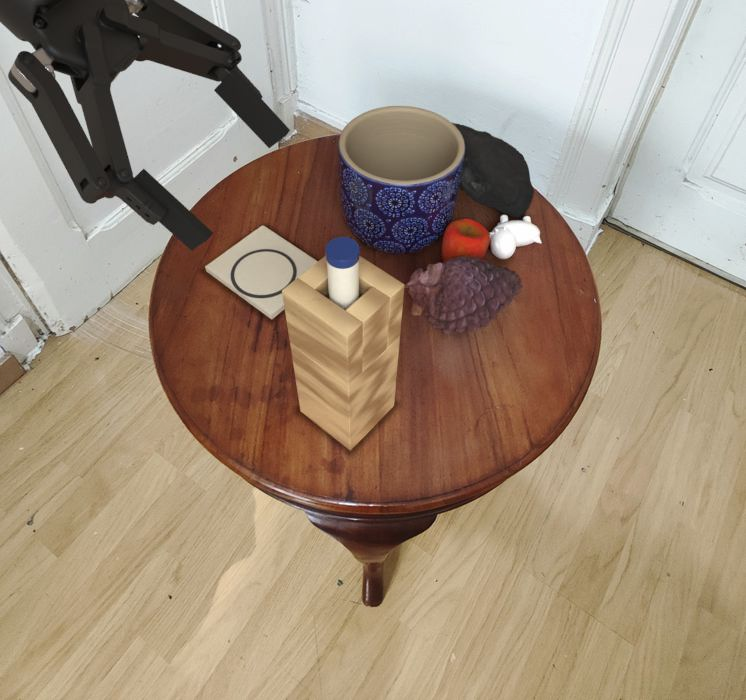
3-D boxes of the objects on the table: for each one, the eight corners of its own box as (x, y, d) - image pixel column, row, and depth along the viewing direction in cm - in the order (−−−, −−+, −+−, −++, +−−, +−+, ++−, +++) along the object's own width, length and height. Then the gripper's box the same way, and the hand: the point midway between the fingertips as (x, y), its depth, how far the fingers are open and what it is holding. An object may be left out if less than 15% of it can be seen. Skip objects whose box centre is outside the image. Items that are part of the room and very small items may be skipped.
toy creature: (488, 209, 89) (492, 246, 86) (544, 212, 90) (549, 249, 87) (481, 229, 93) (484, 265, 90) (534, 232, 94) (539, 268, 91)
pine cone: (492, 263, 90) (538, 240, 81) (506, 331, 89) (554, 316, 80) (381, 271, 82) (418, 247, 73) (395, 346, 81) (434, 331, 72)
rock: (520, 244, 92) (553, 209, 88) (442, 212, 86) (473, 173, 82) (495, 179, 102) (523, 145, 97) (423, 147, 96) (450, 108, 91)
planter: (473, 248, 92) (490, 163, 79) (368, 283, 87) (370, 199, 75) (420, 178, 100) (429, 93, 88) (323, 207, 96) (318, 121, 84)
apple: (432, 254, 91) (446, 209, 85) (474, 261, 91) (490, 216, 86) (435, 281, 86) (450, 235, 81) (479, 288, 87) (496, 243, 82)
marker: (346, 355, 63) (343, 266, 53) (325, 340, 64) (318, 249, 54) (365, 338, 65) (366, 247, 54) (344, 323, 66) (341, 231, 55)
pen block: (350, 451, 73) (347, 336, 55) (300, 411, 76) (281, 290, 58) (394, 405, 76) (405, 284, 58) (344, 369, 79) (340, 243, 61)
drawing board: (271, 319, 84) (270, 314, 83) (206, 271, 88) (204, 265, 87) (328, 273, 89) (328, 267, 88) (263, 229, 93) (262, 224, 92)
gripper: (100, -78, 52) (282, 122, 62) (-141, 81, 39) (141, 307, 48) (137, -146, 47) (331, 84, 56) (-127, 10, 33) (187, 280, 43)
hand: (244, 187), depth 52 cm, fingers open, 13 cm apart
